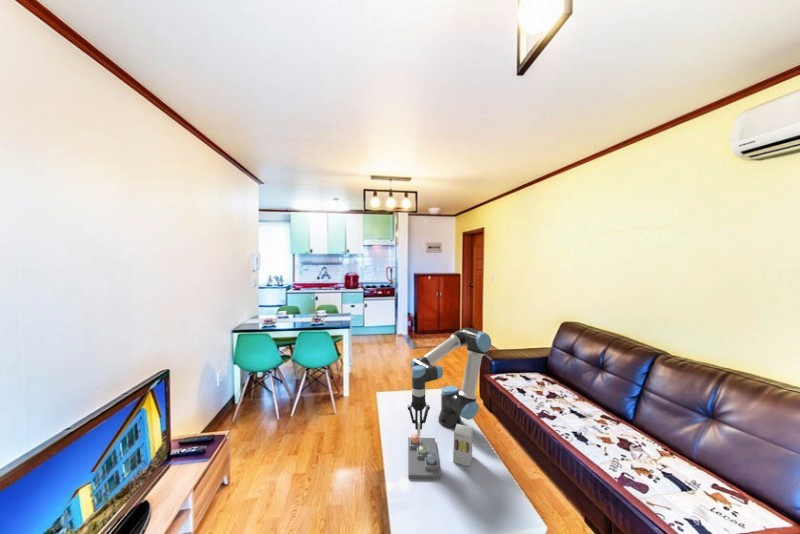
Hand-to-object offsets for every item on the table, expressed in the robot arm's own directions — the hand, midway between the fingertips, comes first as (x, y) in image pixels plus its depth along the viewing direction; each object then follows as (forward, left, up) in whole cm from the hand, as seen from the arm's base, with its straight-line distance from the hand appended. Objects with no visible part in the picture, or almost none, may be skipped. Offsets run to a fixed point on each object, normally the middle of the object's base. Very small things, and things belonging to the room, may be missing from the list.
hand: (418, 434), depth 168 cm
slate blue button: (-6, +13, -6) cm, 16 cm away
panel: (-2, +5, -10) cm, 12 cm away
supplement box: (-24, +5, -10) cm, 27 cm away
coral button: (+2, -3, -6) cm, 7 cm away
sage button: (-2, +5, -8) cm, 10 cm away
